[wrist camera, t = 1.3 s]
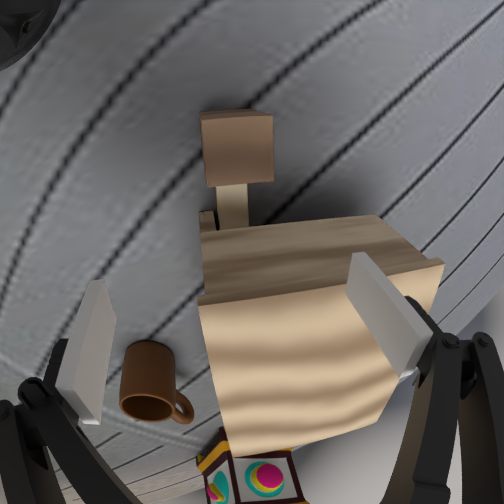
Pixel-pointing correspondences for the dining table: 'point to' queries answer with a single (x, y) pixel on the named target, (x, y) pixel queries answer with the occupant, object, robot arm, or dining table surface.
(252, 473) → the decorative lantern
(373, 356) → the cabinet
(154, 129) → the dining table surface
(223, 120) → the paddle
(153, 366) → the mug
